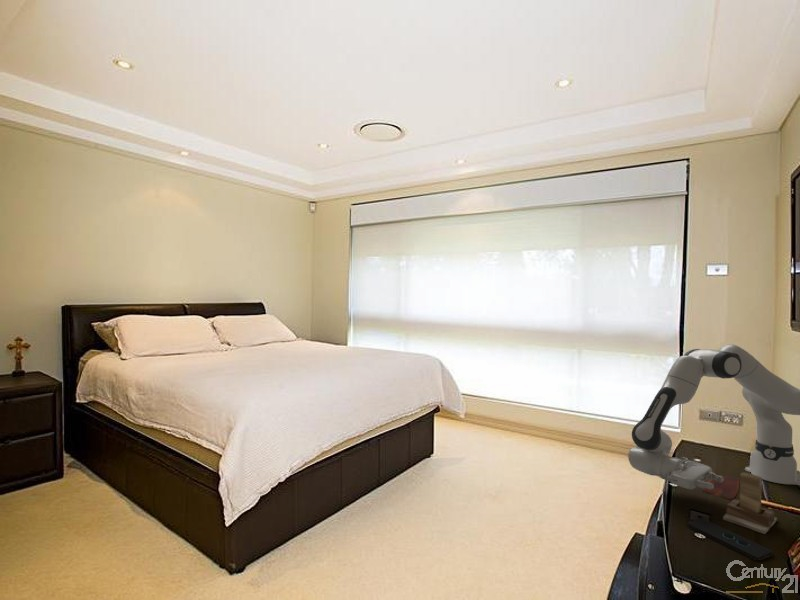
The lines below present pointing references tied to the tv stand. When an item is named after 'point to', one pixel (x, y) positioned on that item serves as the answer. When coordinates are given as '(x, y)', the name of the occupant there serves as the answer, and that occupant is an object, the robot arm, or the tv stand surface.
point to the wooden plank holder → (750, 517)
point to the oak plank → (750, 492)
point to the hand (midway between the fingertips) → (717, 483)
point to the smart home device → (730, 539)
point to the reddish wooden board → (724, 487)
